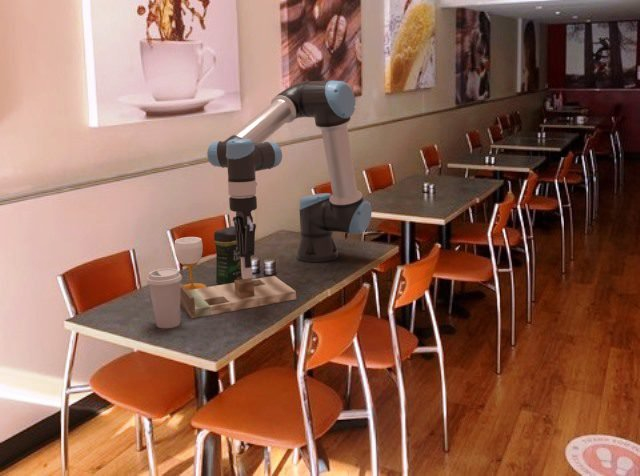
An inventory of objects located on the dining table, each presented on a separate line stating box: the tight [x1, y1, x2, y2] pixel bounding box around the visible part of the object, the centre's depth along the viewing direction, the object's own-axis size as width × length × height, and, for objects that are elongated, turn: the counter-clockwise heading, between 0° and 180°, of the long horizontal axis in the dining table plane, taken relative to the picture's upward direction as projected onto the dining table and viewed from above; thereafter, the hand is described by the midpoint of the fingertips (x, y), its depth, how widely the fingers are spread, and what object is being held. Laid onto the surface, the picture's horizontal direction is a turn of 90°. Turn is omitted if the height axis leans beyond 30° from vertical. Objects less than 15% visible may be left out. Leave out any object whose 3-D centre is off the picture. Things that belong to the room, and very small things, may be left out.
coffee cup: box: [146, 267, 183, 329], centre depth 187 cm, size 10×10×15 cm
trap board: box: [180, 275, 297, 319], centre depth 206 cm, size 32×18×6 cm, turn 115°
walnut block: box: [234, 278, 254, 299], centre depth 202 cm, size 4×4×4 cm
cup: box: [174, 236, 207, 290], centre depth 217 cm, size 9×9×16 cm
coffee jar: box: [213, 225, 243, 285], centre depth 221 cm, size 10×8×19 cm
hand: (247, 277), depth 193 cm, fingers closed
